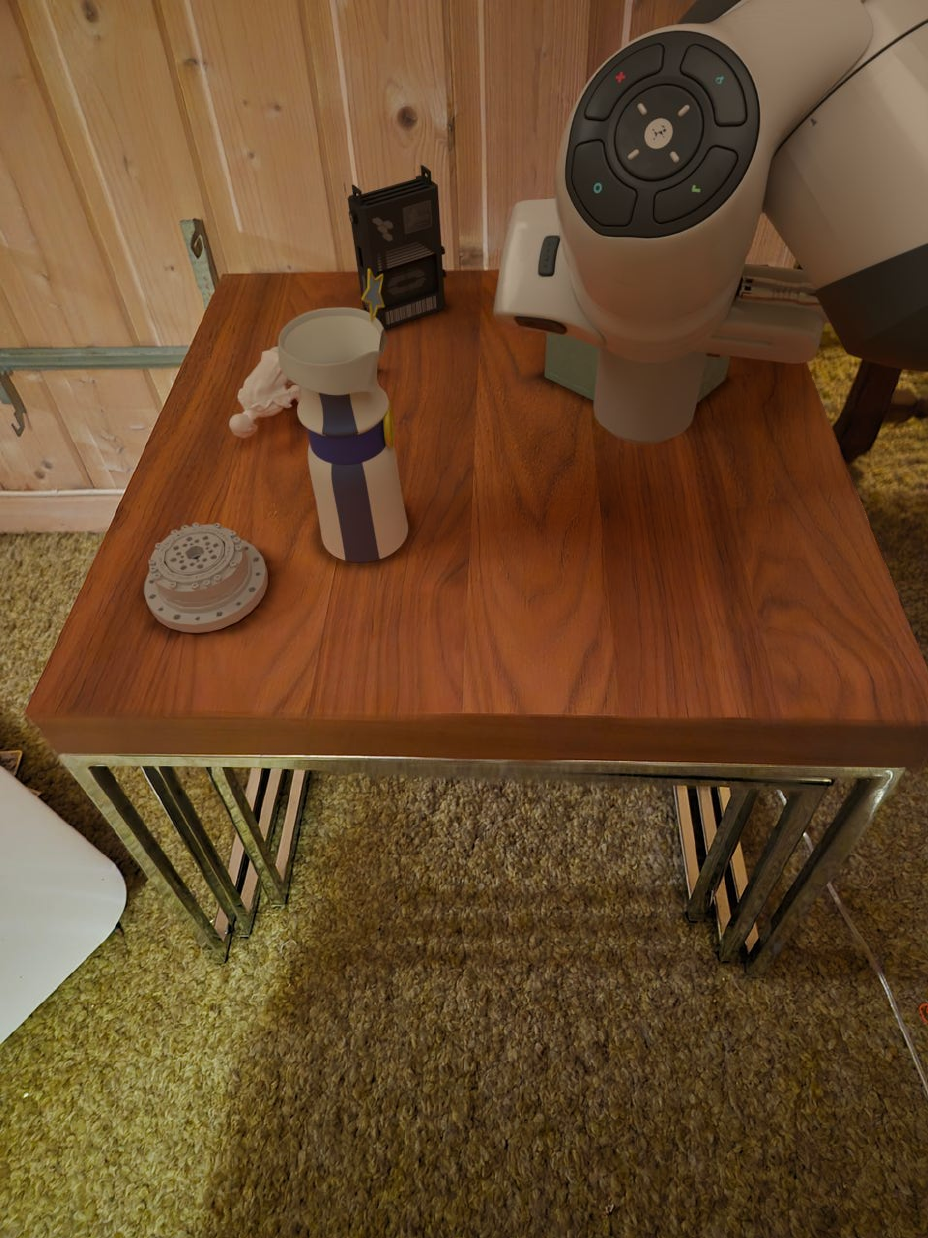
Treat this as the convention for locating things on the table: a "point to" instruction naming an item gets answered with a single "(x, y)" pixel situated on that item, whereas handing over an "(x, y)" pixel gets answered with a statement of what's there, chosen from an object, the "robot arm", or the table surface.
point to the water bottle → (347, 426)
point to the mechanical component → (204, 578)
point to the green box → (579, 362)
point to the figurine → (263, 394)
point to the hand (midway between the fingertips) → (654, 337)
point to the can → (647, 396)
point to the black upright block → (400, 247)
